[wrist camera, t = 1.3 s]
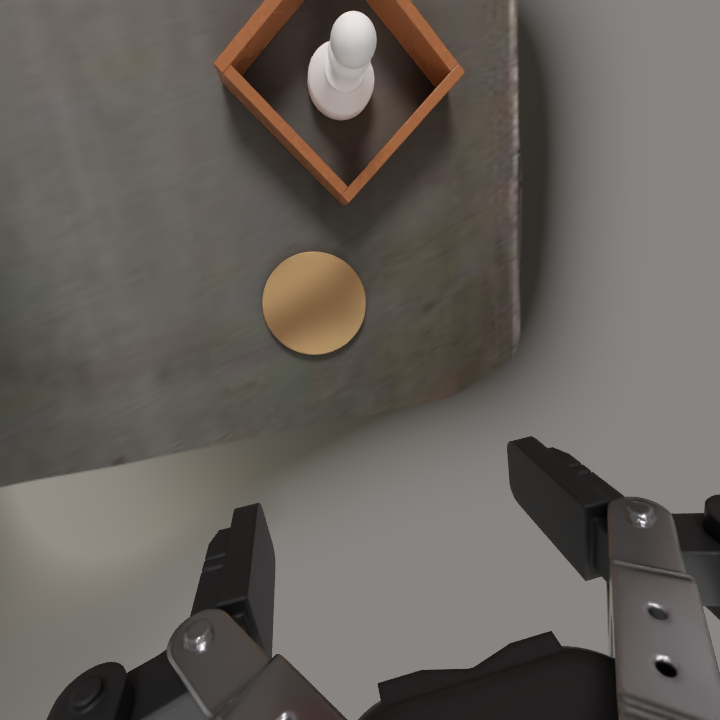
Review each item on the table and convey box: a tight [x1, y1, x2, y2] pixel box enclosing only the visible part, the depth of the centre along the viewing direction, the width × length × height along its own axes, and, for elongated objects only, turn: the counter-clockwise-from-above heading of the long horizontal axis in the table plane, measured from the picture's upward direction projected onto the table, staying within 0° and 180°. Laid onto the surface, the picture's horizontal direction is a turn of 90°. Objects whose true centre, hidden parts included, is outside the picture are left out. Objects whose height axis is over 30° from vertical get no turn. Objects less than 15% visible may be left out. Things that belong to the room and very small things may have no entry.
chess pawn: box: [307, 11, 377, 121], centre depth 28 cm, size 5×5×9 cm
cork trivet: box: [262, 251, 366, 355], centre depth 37 cm, size 9×9×1 cm
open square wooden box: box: [214, 0, 465, 206], centre depth 31 cm, size 13×13×4 cm
